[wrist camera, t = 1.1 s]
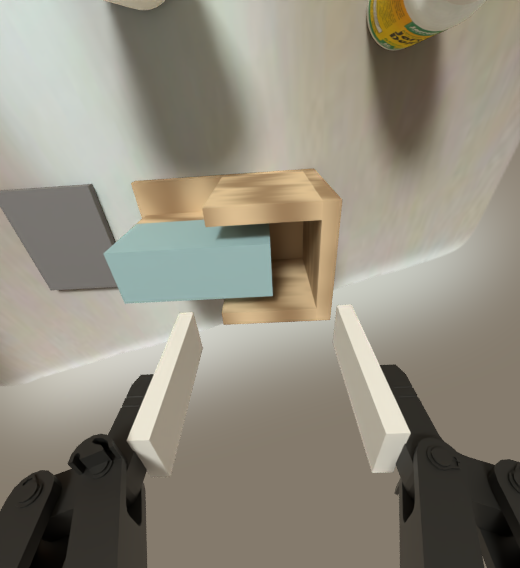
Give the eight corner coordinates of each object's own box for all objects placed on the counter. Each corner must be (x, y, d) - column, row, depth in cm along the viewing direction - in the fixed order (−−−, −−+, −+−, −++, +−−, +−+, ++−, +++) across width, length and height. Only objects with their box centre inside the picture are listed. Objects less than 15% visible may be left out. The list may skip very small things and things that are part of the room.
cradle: (161, 267, 32) (121, 329, 23) (135, 181, 27) (68, 217, 18) (310, 258, 31) (330, 319, 22) (314, 168, 26) (342, 199, 17)
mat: (55, 286, 34) (50, 290, 33) (-2, 190, 27) (-9, 192, 27) (131, 282, 33) (128, 286, 33) (91, 184, 27) (87, 185, 26)
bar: (151, 267, 26) (124, 303, 21) (136, 223, 24) (103, 253, 19) (270, 260, 26) (272, 296, 21) (268, 215, 23) (270, 243, 18)
